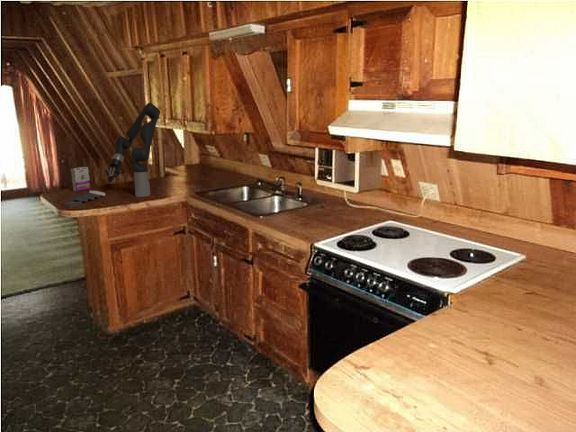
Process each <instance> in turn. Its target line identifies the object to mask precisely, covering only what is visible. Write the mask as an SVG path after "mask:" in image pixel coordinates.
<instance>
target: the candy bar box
mask: <svg viewBox="0 0 576 432" xmlns="http://www.w3.org/2000/svg"><path fill="white" fill-rule="evenodd" d="M70 173H71V182H72V190H73V192H83V191H88V190H89V191H90V190H91V189H92V186H91V178H90V177H91V176H90V169H89V167H88V166H79V167H73V168H70Z"/></svg>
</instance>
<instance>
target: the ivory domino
mask: <svg viewBox="0 0 576 432" xmlns="http://www.w3.org/2000/svg"><path fill="white" fill-rule="evenodd" d="M88 193H94V194H98V195H100V197H101V196H103V197H105V196H106V192H103V191H99V190H89V192H88Z"/></svg>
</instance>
